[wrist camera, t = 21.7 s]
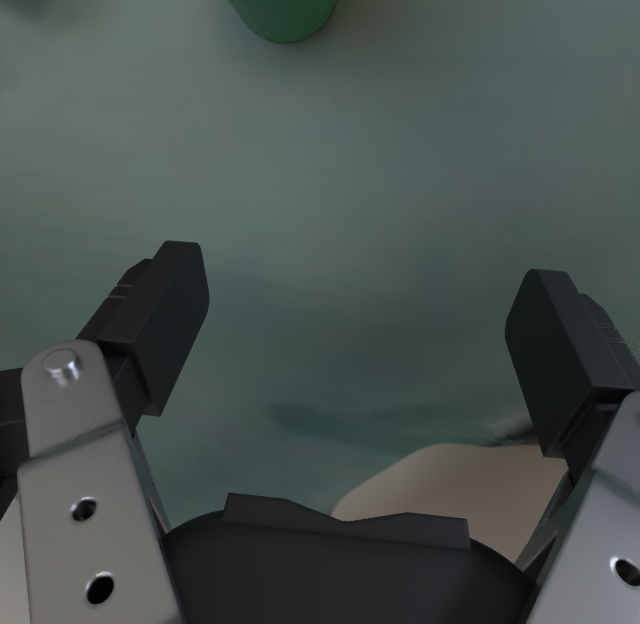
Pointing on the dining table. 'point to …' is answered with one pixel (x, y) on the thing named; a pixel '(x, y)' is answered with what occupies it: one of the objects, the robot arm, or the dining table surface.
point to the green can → (284, 17)
